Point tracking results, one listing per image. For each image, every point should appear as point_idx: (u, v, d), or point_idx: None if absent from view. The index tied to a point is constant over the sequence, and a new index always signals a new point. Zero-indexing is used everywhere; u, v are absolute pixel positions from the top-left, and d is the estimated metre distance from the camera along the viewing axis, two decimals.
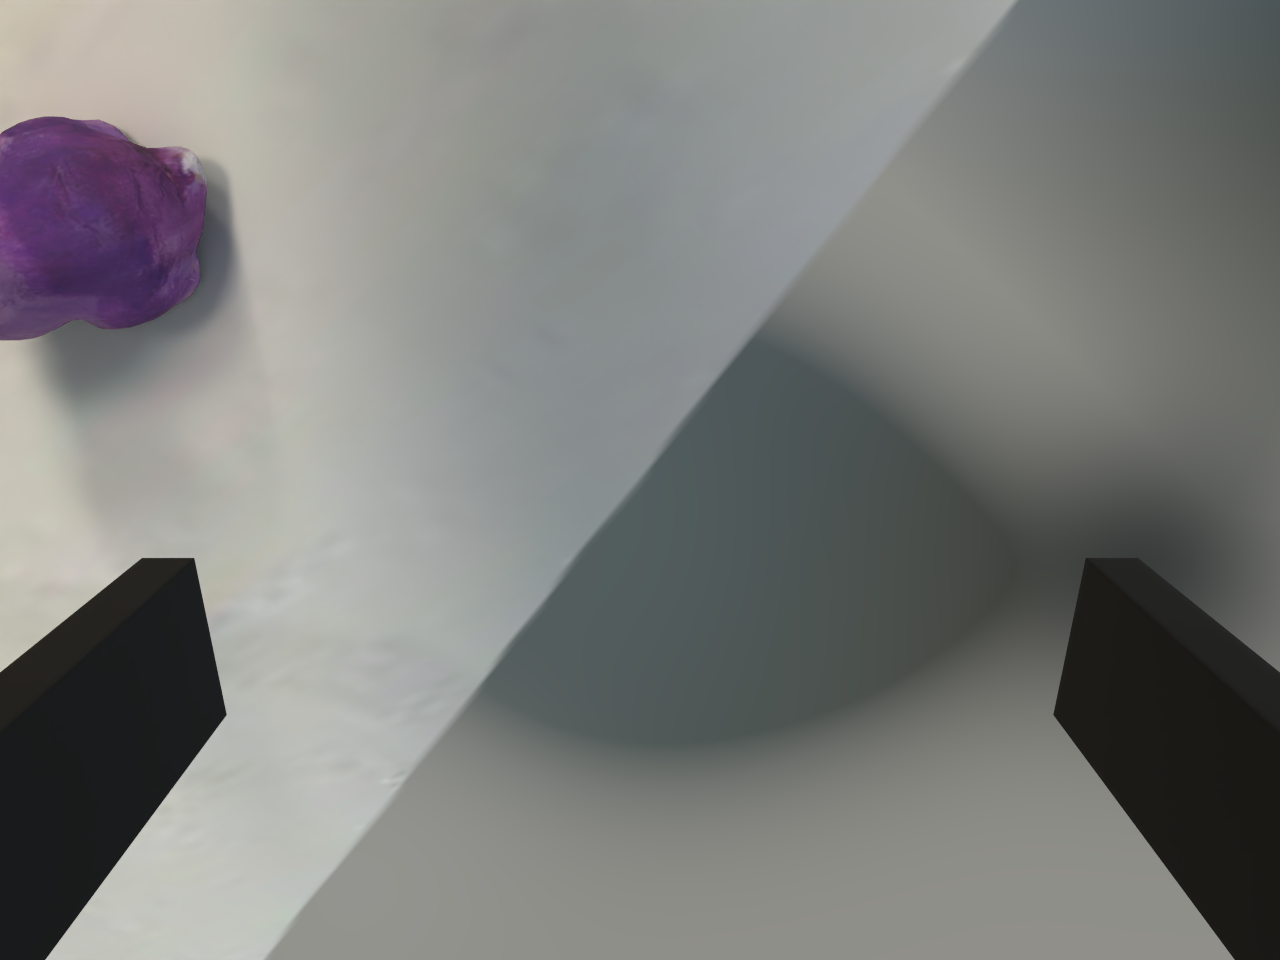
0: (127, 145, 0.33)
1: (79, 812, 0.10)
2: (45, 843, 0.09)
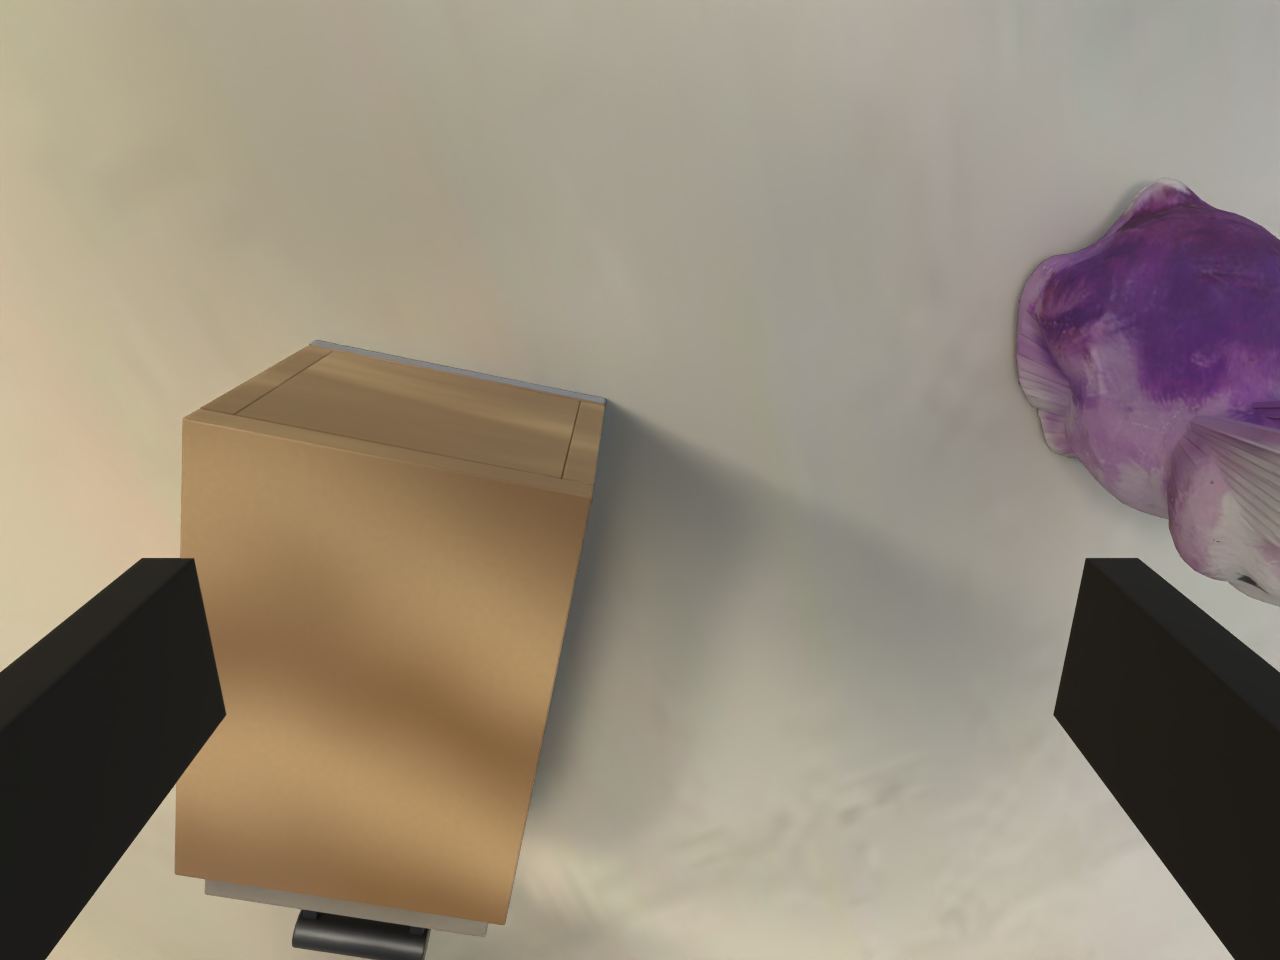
0: (1153, 221, 0.28)
1: (79, 812, 0.10)
2: (45, 843, 0.09)
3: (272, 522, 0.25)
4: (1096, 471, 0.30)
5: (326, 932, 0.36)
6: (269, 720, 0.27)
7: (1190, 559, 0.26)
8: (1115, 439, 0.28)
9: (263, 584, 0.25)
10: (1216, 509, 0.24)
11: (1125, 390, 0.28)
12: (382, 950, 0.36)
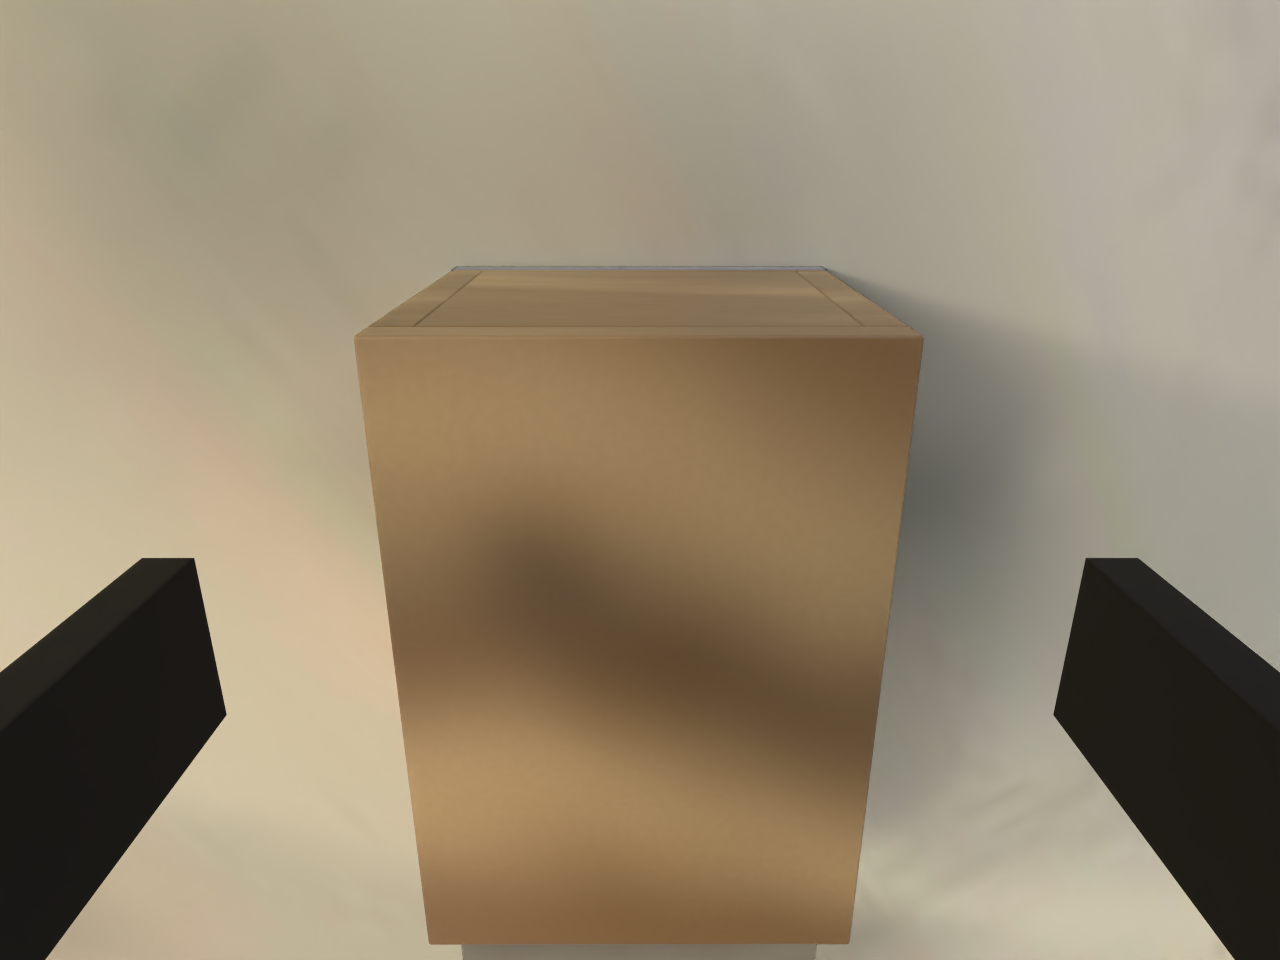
0: None
1: (79, 812, 0.10)
2: (46, 843, 0.09)
3: (491, 459, 0.18)
4: None
5: None
6: (520, 730, 0.21)
7: None
8: None
9: (490, 549, 0.19)
10: None
11: None
12: None
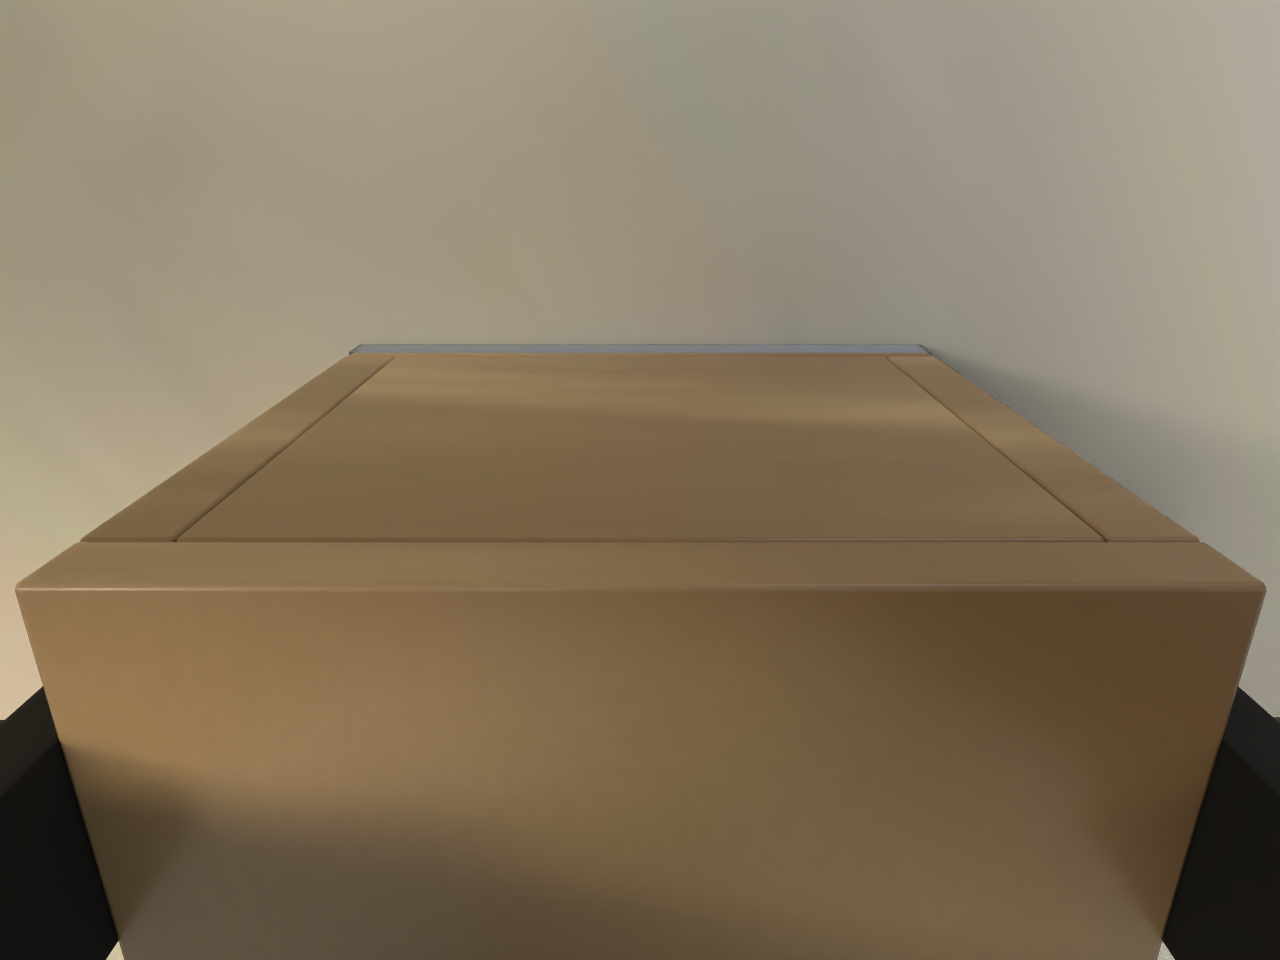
0: None
1: None
2: None
3: (332, 815, 0.09)
4: None
5: None
6: None
7: None
8: None
9: None
10: None
11: None
12: None
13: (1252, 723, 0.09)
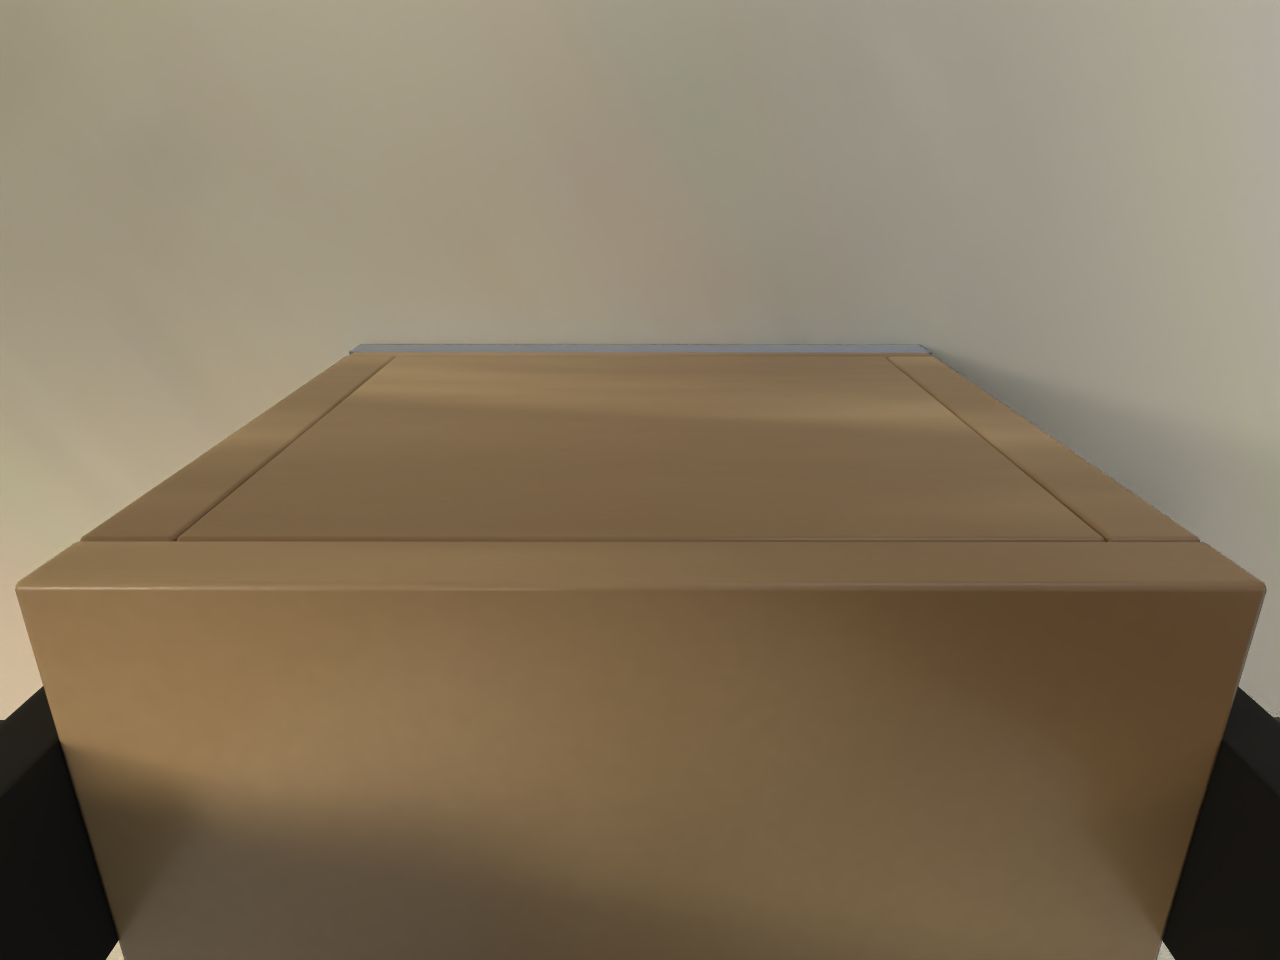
0: None
1: None
2: None
3: (333, 814, 0.09)
4: None
5: None
6: None
7: None
8: None
9: None
10: None
11: None
12: None
13: (1252, 723, 0.09)
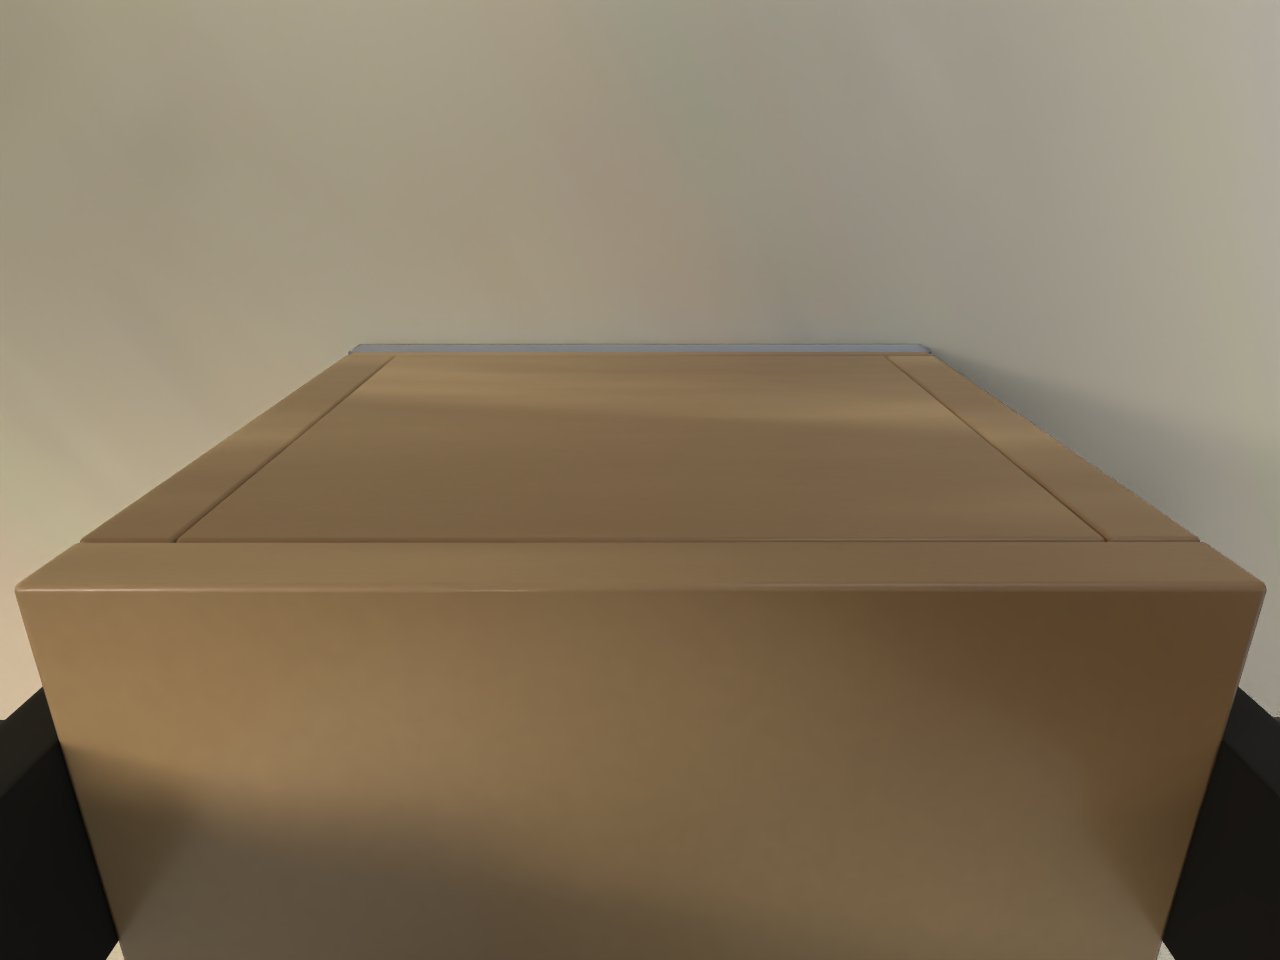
0: None
1: None
2: None
3: (333, 816, 0.09)
4: None
5: None
6: None
7: None
8: None
9: None
10: None
11: None
12: None
13: (1252, 723, 0.09)
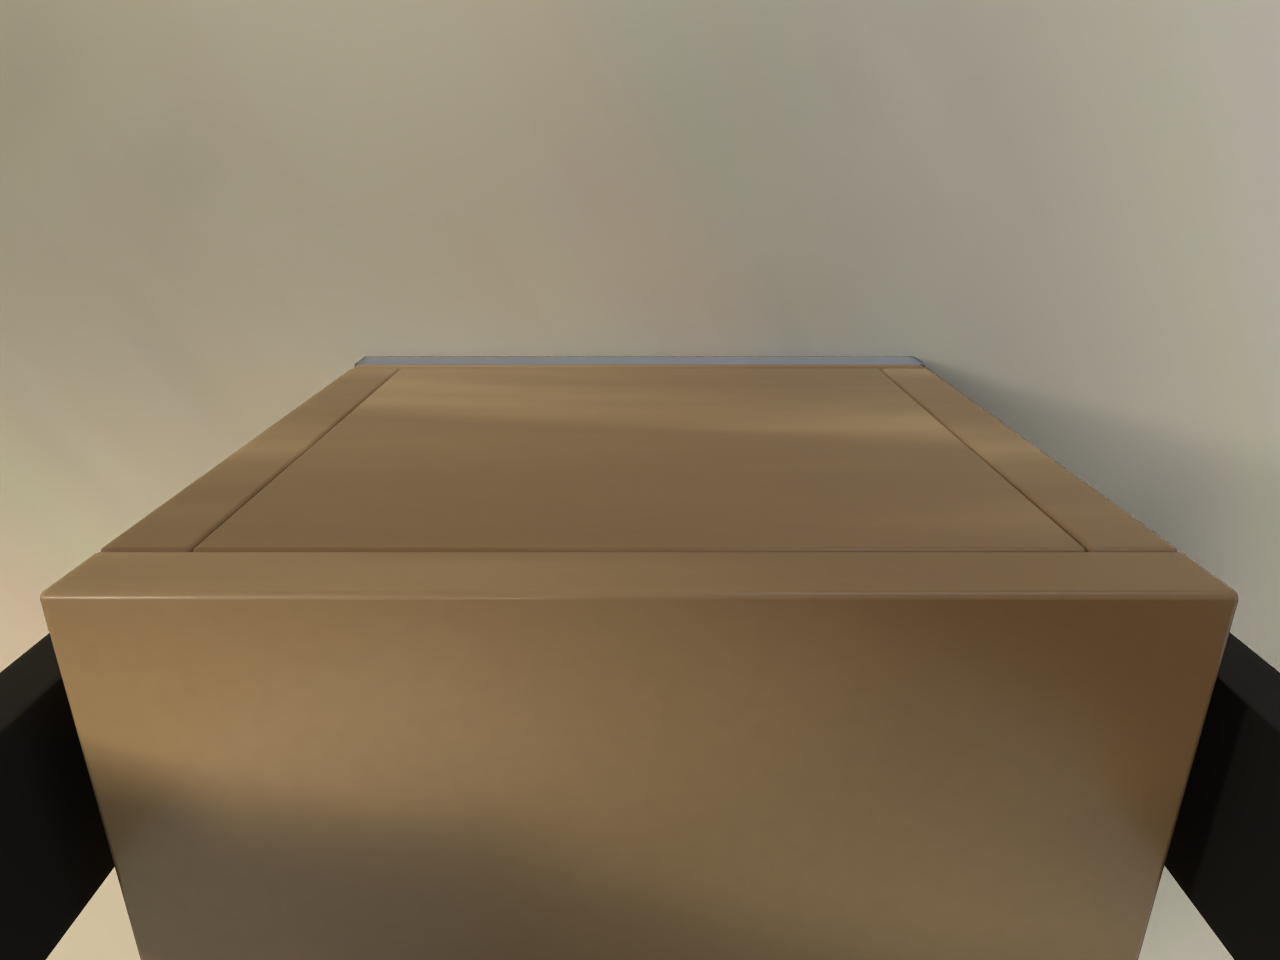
0: None
1: (80, 812, 0.10)
2: (46, 843, 0.09)
3: (342, 815, 0.09)
4: None
5: None
6: None
7: None
8: None
9: None
10: None
11: None
12: None
13: None
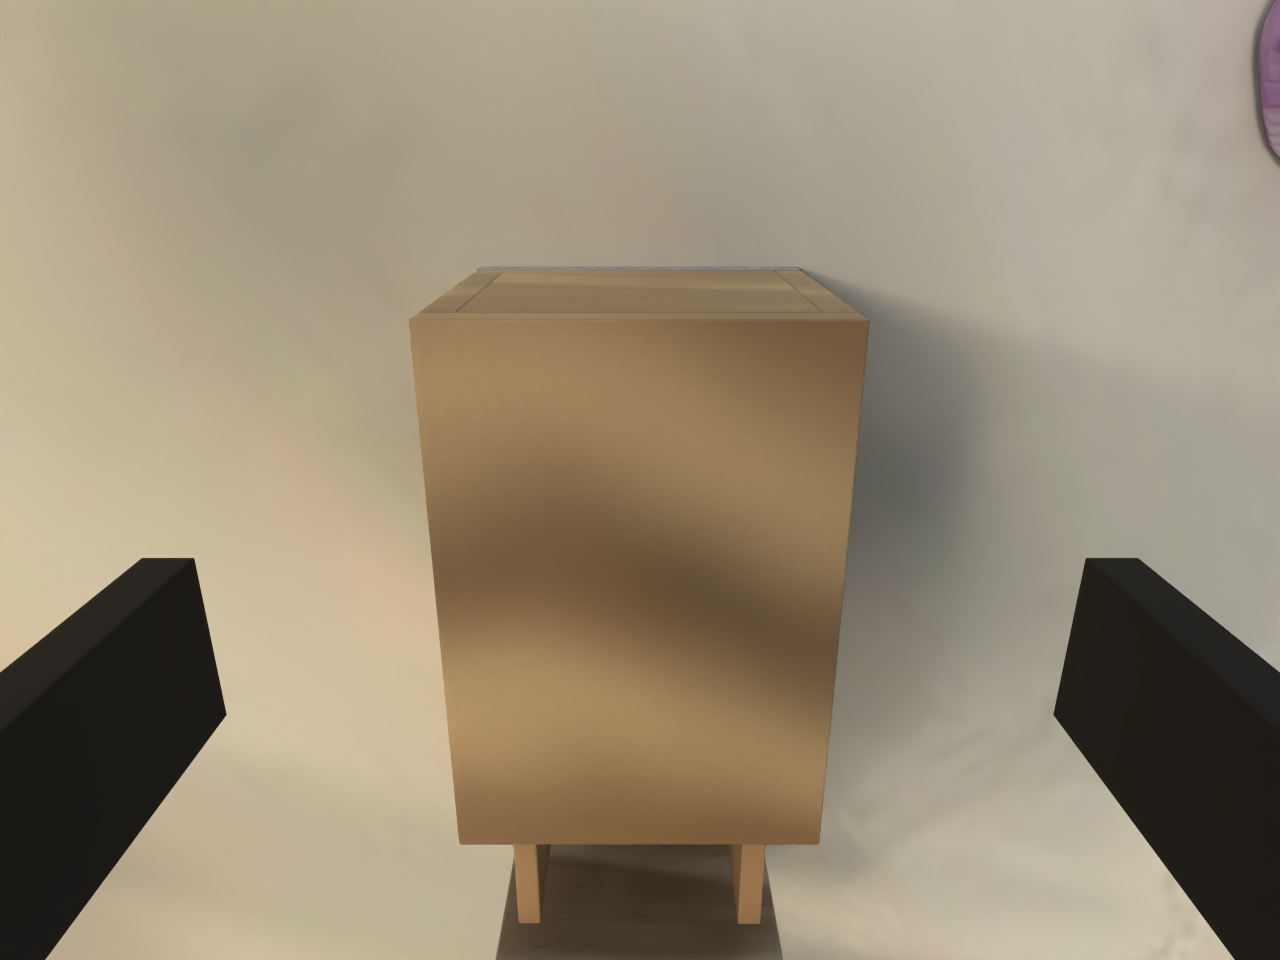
0: None
1: (79, 812, 0.10)
2: (45, 843, 0.09)
3: (518, 421, 0.22)
4: None
5: None
6: (540, 652, 0.25)
7: None
8: None
9: (516, 496, 0.23)
10: None
11: None
12: None
13: None
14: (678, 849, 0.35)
